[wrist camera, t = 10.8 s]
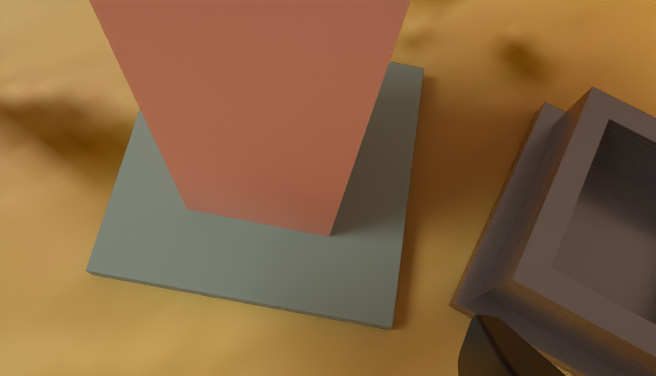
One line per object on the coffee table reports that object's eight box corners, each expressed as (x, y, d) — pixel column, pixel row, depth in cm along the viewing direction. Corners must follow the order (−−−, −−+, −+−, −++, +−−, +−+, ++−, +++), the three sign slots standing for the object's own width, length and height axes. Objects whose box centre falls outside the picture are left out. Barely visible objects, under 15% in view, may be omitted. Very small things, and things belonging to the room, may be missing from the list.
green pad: (388, 329, 17) (392, 327, 16) (92, 274, 16) (85, 270, 16) (420, 77, 20) (424, 68, 19) (173, 28, 20) (170, 18, 19)
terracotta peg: (328, 236, 17) (467, -168, 5) (186, 209, 17) (-39, -277, 5) (351, 112, 18) (498, -429, 6) (221, 86, 18) (120, -514, 6)
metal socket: (691, 439, 16) (776, 448, 14) (448, 305, 17) (483, 288, 14) (747, 216, 19) (828, 186, 16) (537, 110, 20) (581, 63, 17)
